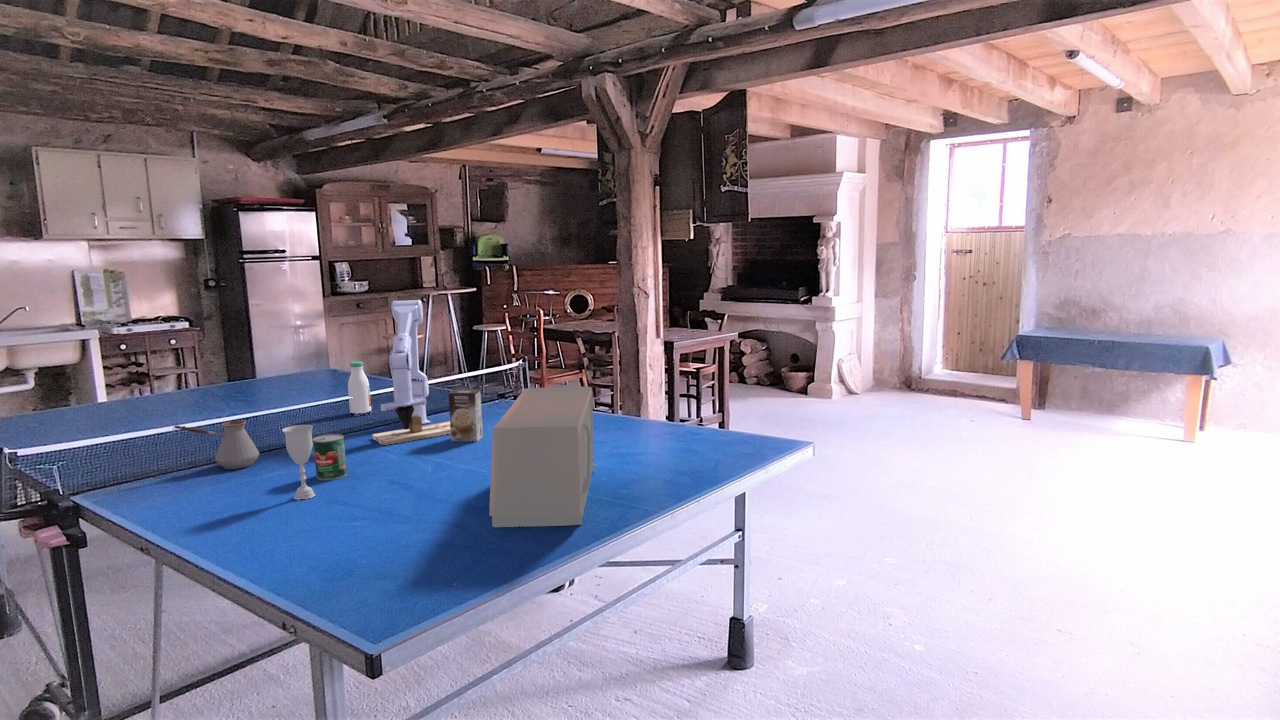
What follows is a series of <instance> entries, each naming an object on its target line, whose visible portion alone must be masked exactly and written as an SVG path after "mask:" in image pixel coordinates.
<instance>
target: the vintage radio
mask: <svg viewBox="0 0 1280 720" xmlns="http://www.w3.org/2000/svg"><path fill="white" fill-rule="evenodd" d="M593 419H594V418H593V388H592V386H569V387H568V386H565V387H564V386H562V387H561V386H560V387H559V386H558V387H555V386H554V387H529V388H524V389H523V390H522V391H521V392H520V394H519V396H518V397H517V398H516V400H515V401H514V402H513V404H512V405H511V406H510V407H509V408H508V409H507V411H506V413H505V414H504V415H502V417H501V418H500V420H499V421H498V422H497V423H496V424H495V425H494V427H492V437H491V443H492V444H491V464H490V487H489V488H490V489H489V503H488V505H489V514H488V515H489V516H490V517H491V523H492V525H491V526H492V527H493V528H508V527H509V528H515V527H516V528H517V527H519V526H520V527H519V528H521V527H522V526H523V527H555V526H556V527H558V526H562V527H564V526H575V525H576V526H577V525H578V526H580V525H581V526H582V525H583V517H584V512H585V508H586V504H587V498H588V494H589V490H590V485H591V481H592V480H591V479H592V474H593V472H594V467H596V468H597V467H598V465H597V464H595V463H594V425H593V424H594V423H593Z"/></svg>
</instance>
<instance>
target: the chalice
mask: <svg viewBox="0 0 1280 720" xmlns="http://www.w3.org/2000/svg"><path fill="white" fill-rule="evenodd" d="M313 428H314V426H313V425H312V424H298V425H291V426H287V427H284V428H283V429H281V430H282V432H283V434H284V439H285V447H286V448H285V449H286V451H287V453H288V455H289V457H290V458H291V459H292V461H293V462H294V463H295V465H296V464H297V465H298V466H299V471H298V473H299V475H300V477H299V478H298V480H299V481H300V483H301V485H300V486H299V487H298V488H297V489H296V492H295V493H294V497H293V499H294V500H295V499H298V500H297V501H301V500H300V499H306V500H309V499H308V498H310V499H312V497H313V498H315V497H316V493H315V492H314V490H313V488H312V487H310V486H308V485H307V484H306V479H307V477H306V475H305V474H306V469H305V464H306V463H307V462H308V461H309V459H310V456H311V454H312V450H313V448H314V446H313V435H312V430H313ZM314 496H315V497H314Z"/></svg>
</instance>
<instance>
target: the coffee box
mask: <svg viewBox="0 0 1280 720" xmlns="http://www.w3.org/2000/svg"><path fill="white" fill-rule="evenodd" d="M481 393H482V392H481V389H466V388H465V389H464V388H463V389H460V388H459V389H458V388H457V389H456V388H455V389H454V388H453V390H451V391H450V392H448V407H449V409H448V411H449V421H450V429H451V434H450V442H472V441H473V442H477V443H478V442H479V441H480V440H481V439H482V438H483V435H484V434H483V416H482V415H483V414H482V397H481V395H482V394H481ZM473 442H472V443H473Z"/></svg>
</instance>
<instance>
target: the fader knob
mask: <svg viewBox="0 0 1280 720" xmlns="http://www.w3.org/2000/svg"><path fill="white" fill-rule="evenodd" d="M422 426H423V424H422V421H421V416H419V415H412V416H411V419H410V424H409V430H410V431H412V432H418V431H422Z"/></svg>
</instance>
